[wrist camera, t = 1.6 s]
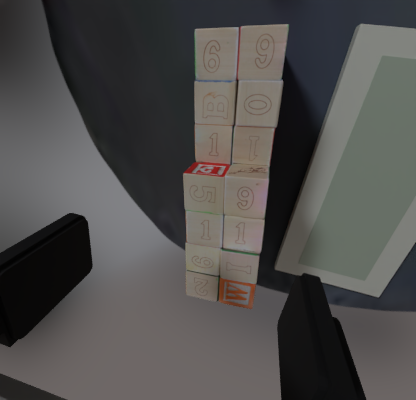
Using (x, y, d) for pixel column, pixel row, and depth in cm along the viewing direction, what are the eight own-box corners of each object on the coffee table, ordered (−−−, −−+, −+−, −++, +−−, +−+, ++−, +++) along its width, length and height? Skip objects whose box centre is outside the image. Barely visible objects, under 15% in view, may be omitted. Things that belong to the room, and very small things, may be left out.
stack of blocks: (220, 51, 23) (177, 9, 12) (284, 50, 22) (300, 2, 11) (213, 229, 32) (184, 297, 21) (258, 236, 31) (252, 313, 20)
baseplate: (532, 44, 18) (550, 40, 16) (374, 290, 29) (379, 298, 28) (355, 27, 20) (361, 23, 19) (274, 263, 32) (274, 269, 30)
